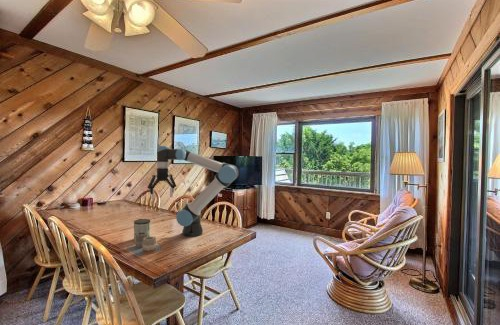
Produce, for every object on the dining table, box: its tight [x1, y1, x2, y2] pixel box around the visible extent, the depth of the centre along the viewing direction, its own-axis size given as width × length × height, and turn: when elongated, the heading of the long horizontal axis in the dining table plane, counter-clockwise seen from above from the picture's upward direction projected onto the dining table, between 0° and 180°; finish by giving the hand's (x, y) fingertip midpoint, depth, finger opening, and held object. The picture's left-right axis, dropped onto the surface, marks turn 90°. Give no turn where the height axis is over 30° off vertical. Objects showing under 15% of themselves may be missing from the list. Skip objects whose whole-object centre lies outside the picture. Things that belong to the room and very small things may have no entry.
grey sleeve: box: [134, 232, 147, 248], centre depth 163 cm, size 7×7×8 cm
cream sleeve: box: [143, 235, 157, 255], centre depth 154 cm, size 7×7×8 cm
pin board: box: [126, 244, 165, 257], centre depth 158 cm, size 16×18×7 cm
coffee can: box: [133, 218, 151, 243], centre depth 175 cm, size 10×10×14 cm
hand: (162, 197), depth 182 cm, fingers open, 13 cm apart
